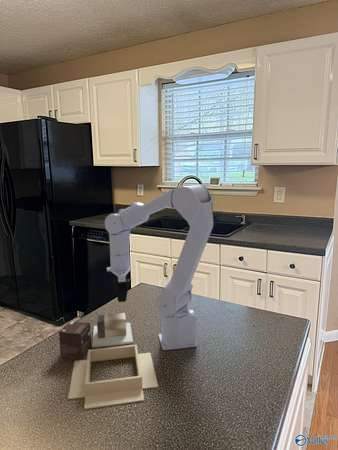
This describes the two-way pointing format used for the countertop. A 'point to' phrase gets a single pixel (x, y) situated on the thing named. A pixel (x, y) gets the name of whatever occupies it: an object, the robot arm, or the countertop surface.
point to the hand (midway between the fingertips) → (121, 296)
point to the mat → (112, 338)
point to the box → (75, 340)
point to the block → (111, 325)
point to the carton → (114, 388)
